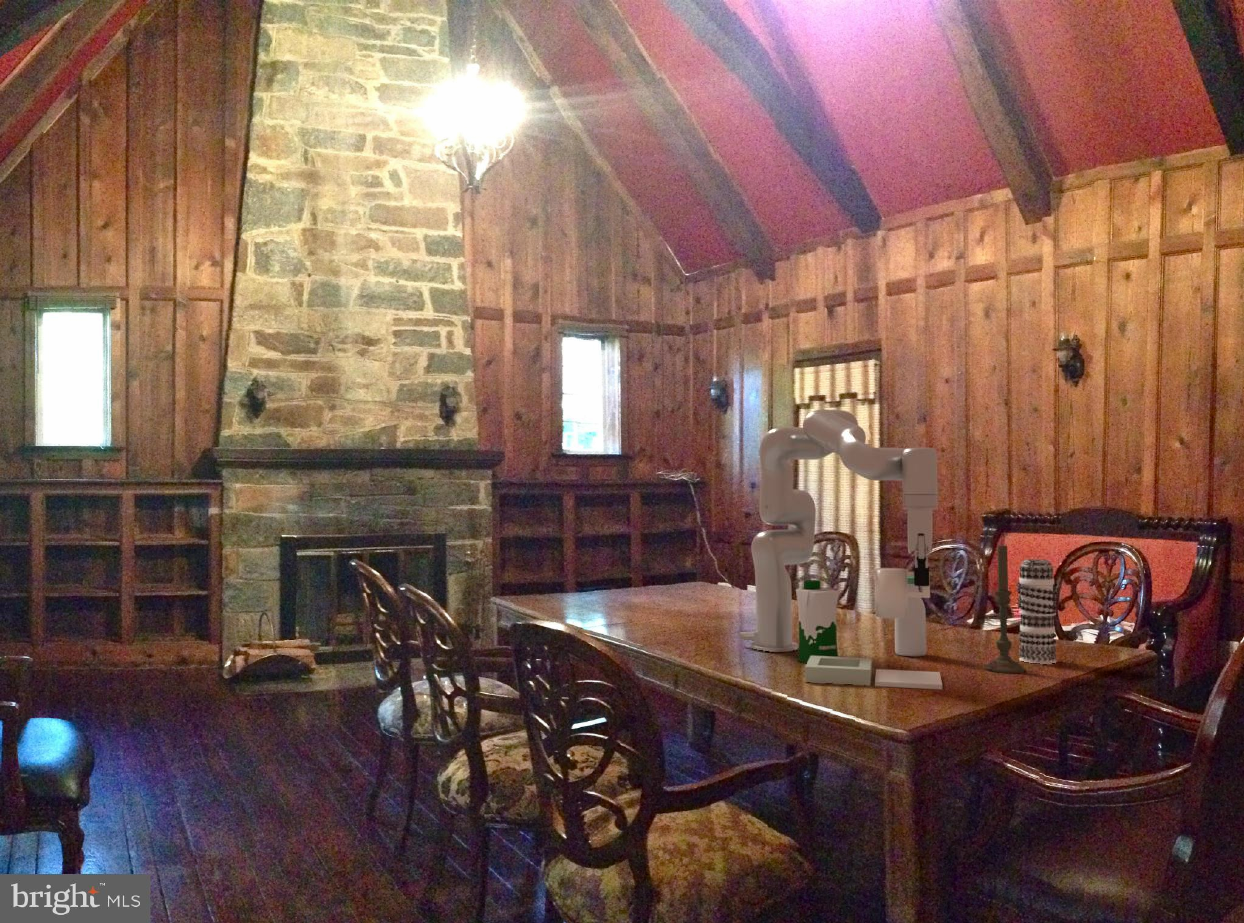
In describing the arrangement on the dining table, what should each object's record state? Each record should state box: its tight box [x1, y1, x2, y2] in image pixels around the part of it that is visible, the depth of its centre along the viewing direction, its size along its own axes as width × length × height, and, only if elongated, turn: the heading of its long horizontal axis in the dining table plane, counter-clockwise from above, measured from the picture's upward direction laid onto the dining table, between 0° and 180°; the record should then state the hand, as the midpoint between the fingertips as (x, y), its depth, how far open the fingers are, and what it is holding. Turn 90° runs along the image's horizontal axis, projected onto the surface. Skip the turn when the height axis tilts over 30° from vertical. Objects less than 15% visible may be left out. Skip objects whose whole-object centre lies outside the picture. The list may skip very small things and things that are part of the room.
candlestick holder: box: [983, 542, 1026, 674], centre depth 226 cm, size 9×9×30 cm
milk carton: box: [795, 579, 840, 664], centre depth 236 cm, size 9×9×20 cm
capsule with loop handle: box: [868, 567, 931, 619], centre depth 214 cm, size 13×7×10 cm, turn 73°
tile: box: [874, 668, 943, 690], centre depth 213 cm, size 14×14×1 cm
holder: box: [804, 656, 873, 687], centre depth 218 cm, size 14×14×4 cm
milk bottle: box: [894, 577, 927, 657], centre depth 246 cm, size 8×8×20 cm
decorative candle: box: [1015, 558, 1058, 665], centre depth 236 cm, size 9×9×25 cm
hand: (921, 584), depth 213 cm, fingers closed on capsule with loop handle
